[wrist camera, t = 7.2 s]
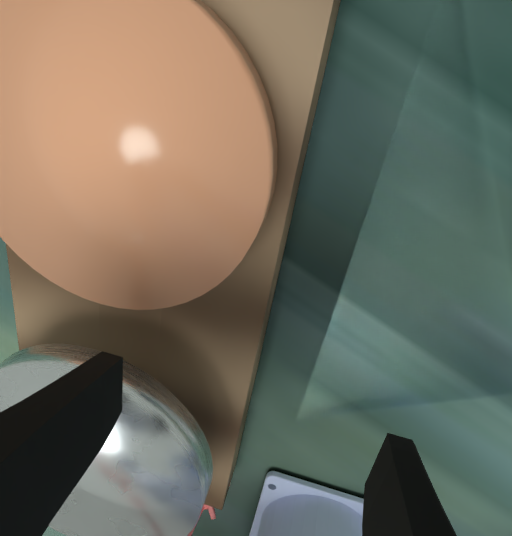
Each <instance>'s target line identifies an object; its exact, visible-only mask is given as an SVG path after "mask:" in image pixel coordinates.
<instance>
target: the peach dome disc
mask: <svg viewBox="0 0 512 536" xmlns="http://www.w3.org/2000/svg"><path fill="white" fill-rule="evenodd" d="M276 176H277V138H276V130H275V123H274V119H273V115H272V111H271V107H270V103H269V99H268V96H267V94H266V91H265V89H264V86H263V84H262V81H261V79H260V76H259V74H258V72H257V70H256V68H255V66H254V65H253V63H252V61H251V59H250V57H249V55H248V53H247V52H246V50H245V49H244V48H243V46H242V45H241V43H240V42H239V41H238V39H237V38H236V36H235V35H234V33H233V32H232V31H231V30H230V29H229V27H228V26H227V25H226V24H225V23H224V22H223V21H222V20H221V19H220V18H219V17H218V15H217V14H216V13H215V12H214V11H213V10H212V9H210V8H209V7H208V6H207V5H206V4H204V3H203V2H202V1H201V0H0V237H1V238H2V239H3V241H4V242H5V243H6V244H7V245H8V246H9V247H10V248H11V249H12V250H13V251H14V252H15V253H16V254H17V255H18V256H19V257H20V258H21V259H22V260H24V261H25V262H26V263H27V264H28V265H29V266H31V267H32V268H33V269H34V270H35V271H37V272H38V273H40V274H41V275H42V276H44V277H45V278H47V279H48V280H49V281H51V282H53V283H55V284H56V285H58V286H60V287H61V288H63V289H65V290H67V291H69V292H71V293H73V294H75V295H78V296H80V297H82V298H84V299H87V300H90V301H93V302H96V303H99V304H103V305H107V306H112V307H116V308H123V309H132V310H154V309H161V308H168V307H172V306H176V305H179V304H183V303H186V302H189V301H191V300H193V299H195V298H197V297H200V296H202V295H204V294H205V293H207V292H208V291H210V290H211V289H213V288H214V287H216V286H217V285H219V284H220V283H221V282H222V281H223V280H224V279H225V278H226V277H228V276H229V275H230V274H231V273H232V272H233V270H234V269H235V268H236V267H237V266H238V264H239V263H240V262H241V261H242V260H243V258H244V256H245V255H246V253H247V251H248V250H249V248H250V246H251V245H252V243H253V241H254V240H255V238H256V236H257V234H258V232H259V231H260V229H261V227H262V225H263V223H264V220H265V218H266V216H267V213H268V211H269V209H270V205H271V201H272V197H273V194H274V190H275V183H276Z"/></svg>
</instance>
